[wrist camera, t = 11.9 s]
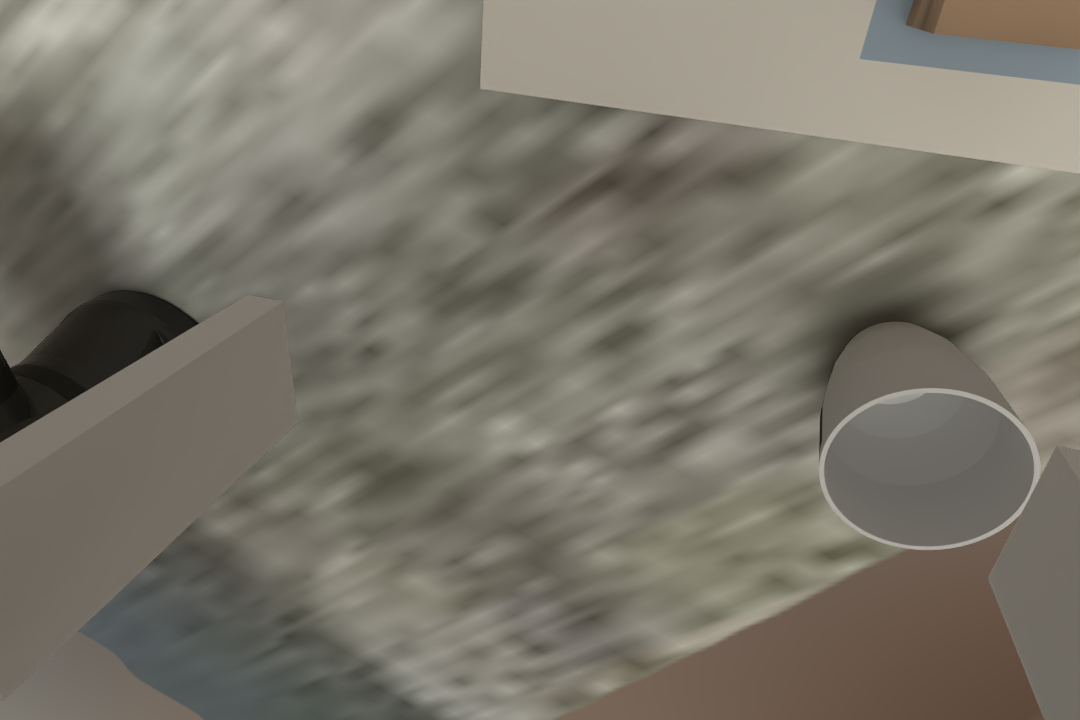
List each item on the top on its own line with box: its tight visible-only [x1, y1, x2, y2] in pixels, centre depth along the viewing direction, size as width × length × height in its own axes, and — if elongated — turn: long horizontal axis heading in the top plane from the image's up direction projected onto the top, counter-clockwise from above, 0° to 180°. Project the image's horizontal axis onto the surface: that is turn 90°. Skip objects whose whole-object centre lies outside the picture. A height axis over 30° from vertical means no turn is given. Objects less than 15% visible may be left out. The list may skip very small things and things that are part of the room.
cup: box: [819, 321, 1040, 550], centre depth 33 cm, size 8×8×10 cm
